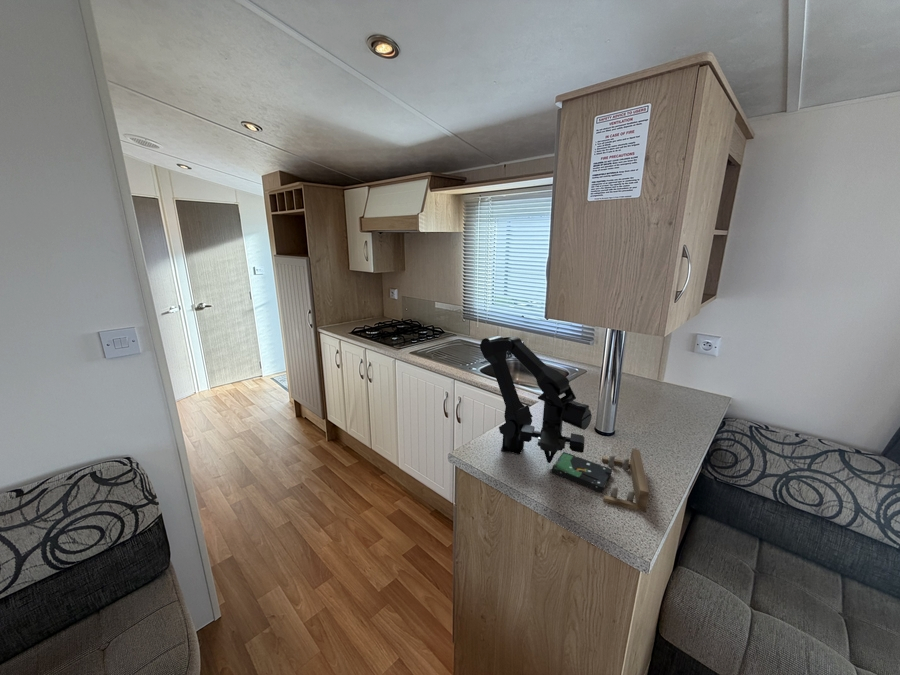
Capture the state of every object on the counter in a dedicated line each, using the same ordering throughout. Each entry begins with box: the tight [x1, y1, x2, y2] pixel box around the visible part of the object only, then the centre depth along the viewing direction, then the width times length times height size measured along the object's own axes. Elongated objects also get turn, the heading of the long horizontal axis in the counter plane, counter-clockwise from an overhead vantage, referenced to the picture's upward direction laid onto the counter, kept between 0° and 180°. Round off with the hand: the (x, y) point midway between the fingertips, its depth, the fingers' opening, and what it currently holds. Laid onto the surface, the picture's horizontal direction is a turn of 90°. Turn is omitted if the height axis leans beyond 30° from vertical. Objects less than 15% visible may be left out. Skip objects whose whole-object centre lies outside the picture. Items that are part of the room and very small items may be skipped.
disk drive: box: [550, 451, 613, 494], centre depth 105 cm, size 10×3×15 cm
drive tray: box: [601, 448, 650, 513], centre depth 100 cm, size 10×20×6 cm, turn 159°
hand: (549, 462), depth 108 cm, fingers closed
